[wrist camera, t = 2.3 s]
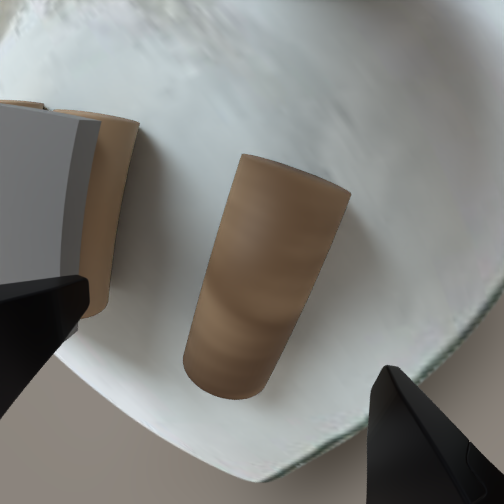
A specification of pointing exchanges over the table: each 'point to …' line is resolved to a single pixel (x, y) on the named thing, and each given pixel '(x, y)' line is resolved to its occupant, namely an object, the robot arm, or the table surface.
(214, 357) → the roller
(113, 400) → the table surface
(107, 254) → the slab on rollers
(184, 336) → the table surface
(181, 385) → the table surface
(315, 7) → the table surface
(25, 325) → the robot arm
